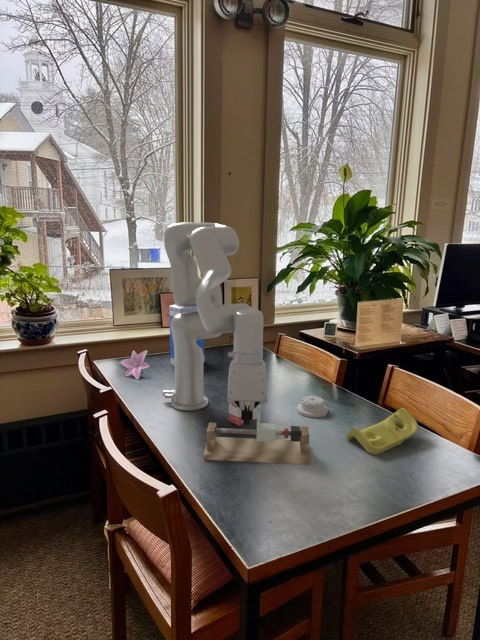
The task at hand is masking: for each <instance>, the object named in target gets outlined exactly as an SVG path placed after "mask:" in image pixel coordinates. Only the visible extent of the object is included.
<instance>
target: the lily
mask: <svg viewBox="0 0 480 640" xmlns="http://www.w3.org/2000/svg"><path fill="white" fill-rule="evenodd" d="M147 354H148V349H147V350H143V351H141V352H140V353H137V352H136V351H135V350H132V352H131V357H129V358H125V359H122V360H121V361H120V364H121V365H122V366H123V367H125V368H127V370H126V372H125V375H124V377H125V376H127V377H128V376H130V375H131V374H132V375H133V377H134V378H135V379H136V380H137V379H139V380H140V376H141V372H142V373H143V372H144V371H143V370H144V369H147V368H150V367H151V365H149V364H148V363H147V362H145V361H144V360H145V358H146V355H147Z"/></svg>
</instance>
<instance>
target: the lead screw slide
mask: <svg viewBox="0 0 480 640" xmlns="http://www.w3.org/2000/svg"><path fill="white" fill-rule="evenodd" d="M218 433H219V434H237V435H238V434H239V435H241V434H242V435H257V429H248V428H247V429H245V428H244V429H243V428H224V427H223V428H222V427H220V428H219V427H217V422H209V423H208V426H207V429H206V445H205V448H204V451H203V460H205V461H228V462H245V463H246V462H250V463H269V464H290V465H291V464H292V465H293V464H294V465H312V456H311V448H310V429H309V426H304V425H301V426H300V425H291V426H290V430H289V428H286V427H285V428H284V429H283V430H276V436H283V437H284V439H276V438H275V442H259V441H257V438H249V437H248V438H247V437H230V436H228V437H225V436H217V434H218ZM289 437H290V439H289Z"/></svg>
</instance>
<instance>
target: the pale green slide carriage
mask: <svg viewBox="0 0 480 640" xmlns="http://www.w3.org/2000/svg"><path fill="white" fill-rule="evenodd" d="M261 405H262V404H259V405H258V406H257V419H256V430H257V434H256V439H257V441H259V442H275V439H276V436H277V435H276V431H277V429H276V428H277V427H276V425H277V424H276V423H270V422H269V423H267V422H261V407H262V406H261Z"/></svg>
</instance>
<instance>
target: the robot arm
mask: <svg viewBox="0 0 480 640" xmlns="http://www.w3.org/2000/svg"><path fill="white" fill-rule="evenodd" d="M163 236H164V237H163V243H164V249H165V253H166V255H167V258H168V262H169V265H170V272H171V288H172V297H173V302H174V305H177V306H178V307H182V308H188V307H197V310H198V311H190V312H182V313H179V314H177V315H175V316H174V317H173V318H172V320H171V332H172V337H173V343H174V362H175V366H174V389H172V390H167V389H166V390H165V389H163V390H162V396H163V397H164V399H170V405H171V407H173V408H174V409H175V410H179V411H197V410H200V409H203V408H205V407H207V406H208V404H209V399H208V397H207V396H205V395H204V362H203V352H202V350H201V348H200V347H199V346H198V345H197V343H196V341H197V340H201V339H204V340H207V339H214V338H218V337H219V336H221V335H222V334H229V333H233V350H232V351H228V352H227V358H231V359H232V360H231V361H230V363H229V367H228V378H227V398H226V401H227V402H228V403H229V402H231V403H235V404H236V405H237V406H238V407H239V408H240V410H241V420H244V424H243V425H244V426H245V425H247V426H250V424H251V422H252V421H254V420H253V410H254V408H256V407H257V406H258V405H264V404H267V403H268V396H267V395H268V380H267V379H268V376H267V368H266V367H267V365H266V363H265V360H264V359H263V356H264V355H263V353H264V352H263V347H264V342H263V341H264V314H263V312H262V311H261V310H258V309H255V308H253V307H252V306H250V305H249V304H248V303H244V302H243V303H232V304H231V303H230V304H223V294H222V293H223V292H222V288H221V286H220V284H221V285H222V283H224V282H225V281H226V280H228V279H229V277H230V276H231V274H232V266H231V265H230V262H229V260H228V258H227V256H233V255H235V254H236V253H237V252H238V250H239V249H240V248H239V247H240V240H239V239H240V238H239V236H238V234H237V232H236V231H235V230H234V229H233V227H231V226H228V225H225V224H220V223H217V222H193V221H192V222H191V221H188V222H187V221H186V222H185V221H184V222H177V223H171V224H170V225H168V226H167V227H166V229H165V231H164V234H163ZM190 251H192V253H193V255H194V256H193V255H192V254H191V252H190ZM198 269H199V271H198ZM199 272H200V275H201V277H199V274H198V273H199ZM245 401H250V405H249V406H248V409H247V407H246V405H245Z"/></svg>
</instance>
